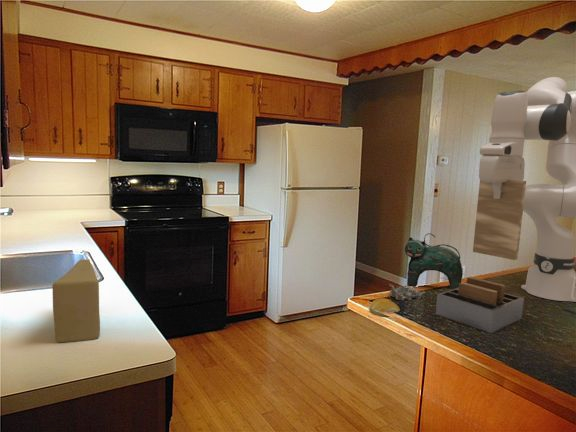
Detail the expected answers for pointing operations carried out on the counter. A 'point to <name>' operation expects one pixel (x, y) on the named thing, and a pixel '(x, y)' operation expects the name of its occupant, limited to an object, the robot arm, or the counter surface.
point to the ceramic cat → (432, 262)
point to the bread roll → (383, 306)
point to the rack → (479, 310)
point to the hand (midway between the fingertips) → (500, 198)
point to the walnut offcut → (488, 286)
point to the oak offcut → (477, 293)
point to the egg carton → (407, 291)
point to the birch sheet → (499, 220)
